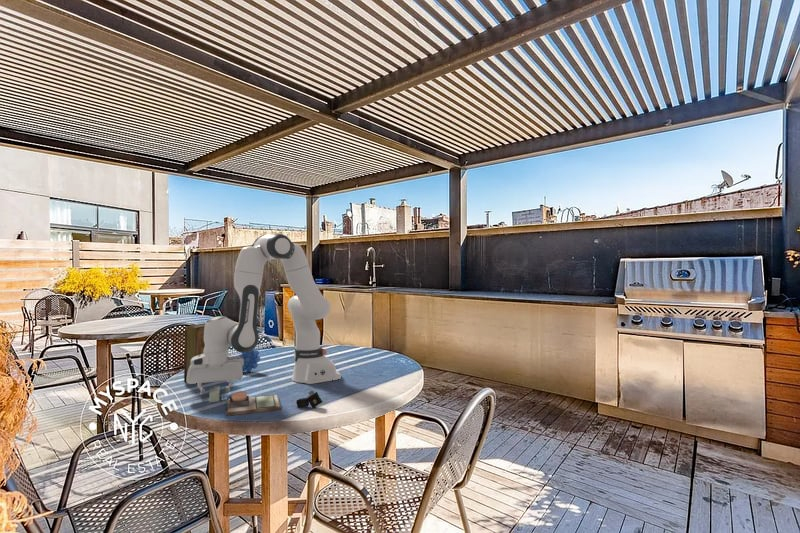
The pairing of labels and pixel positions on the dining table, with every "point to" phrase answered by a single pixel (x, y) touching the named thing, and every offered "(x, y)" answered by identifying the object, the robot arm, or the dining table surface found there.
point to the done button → (239, 396)
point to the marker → (214, 394)
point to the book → (193, 344)
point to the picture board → (253, 405)
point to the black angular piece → (309, 400)
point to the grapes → (250, 360)
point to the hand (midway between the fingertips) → (215, 392)
